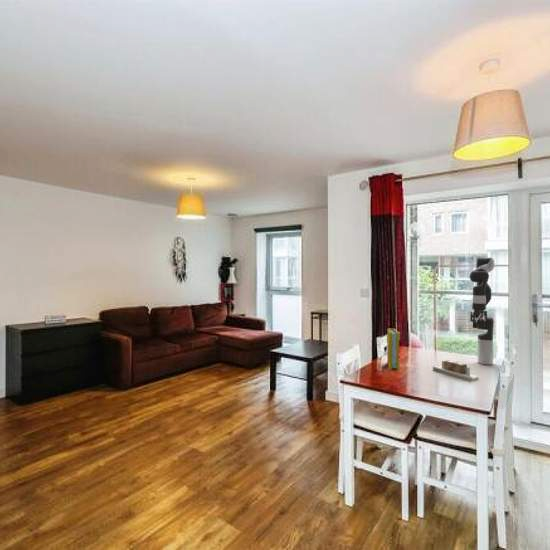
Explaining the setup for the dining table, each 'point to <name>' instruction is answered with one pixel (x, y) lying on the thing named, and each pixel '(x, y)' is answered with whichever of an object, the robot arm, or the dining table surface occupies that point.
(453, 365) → the frame
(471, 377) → the board
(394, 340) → the book
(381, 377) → the dining table surface
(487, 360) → the robot arm
